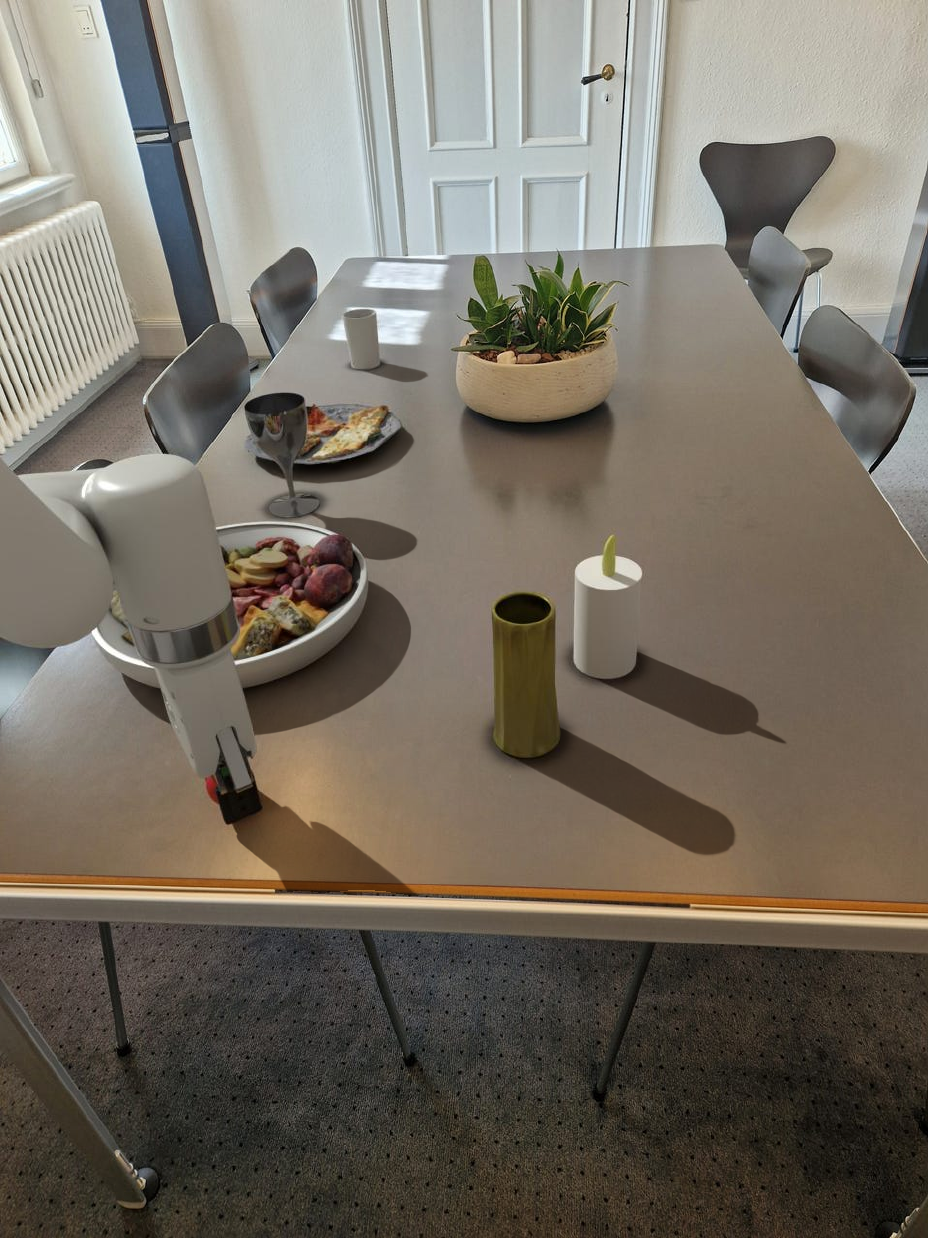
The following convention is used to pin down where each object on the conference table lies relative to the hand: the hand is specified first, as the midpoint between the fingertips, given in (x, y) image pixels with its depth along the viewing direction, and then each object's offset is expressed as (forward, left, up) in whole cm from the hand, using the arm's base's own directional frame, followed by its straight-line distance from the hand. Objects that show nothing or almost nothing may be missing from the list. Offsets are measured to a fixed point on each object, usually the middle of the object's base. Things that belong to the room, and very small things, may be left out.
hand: (234, 797), depth 73 cm
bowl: (+9, +27, -1) cm, 29 cm away
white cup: (+60, +101, -1) cm, 118 cm away
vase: (+25, -7, -1) cm, 26 cm away
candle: (+38, -2, -1) cm, 38 cm away
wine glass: (+25, +51, -1) cm, 57 cm away
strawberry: (0, 0, -1) cm, 1 cm away
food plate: (+38, +69, -1) cm, 79 cm away
